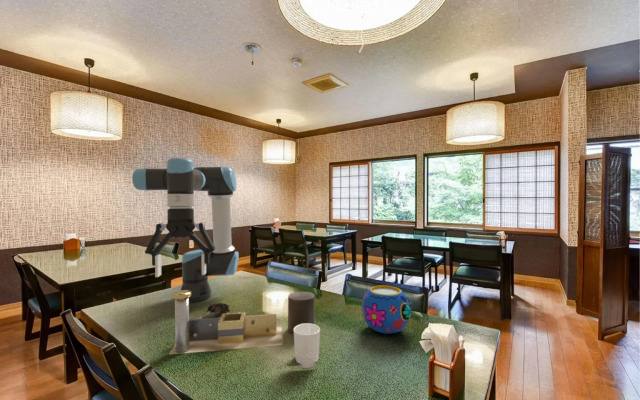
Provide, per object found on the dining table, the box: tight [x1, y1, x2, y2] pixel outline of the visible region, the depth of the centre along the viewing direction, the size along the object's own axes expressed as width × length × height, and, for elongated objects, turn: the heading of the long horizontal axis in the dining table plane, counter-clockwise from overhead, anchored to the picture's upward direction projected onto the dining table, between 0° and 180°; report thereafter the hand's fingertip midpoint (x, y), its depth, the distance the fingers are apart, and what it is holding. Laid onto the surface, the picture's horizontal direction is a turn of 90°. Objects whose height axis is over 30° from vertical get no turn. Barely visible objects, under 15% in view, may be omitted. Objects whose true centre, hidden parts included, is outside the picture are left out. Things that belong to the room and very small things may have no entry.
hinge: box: [189, 311, 277, 344], centre depth 100 cm, size 8×30×7 cm, turn 99°
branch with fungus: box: [191, 302, 231, 319], centre depth 117 cm, size 18×7×6 cm, turn 152°
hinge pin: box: [171, 290, 191, 354], centre depth 92 cm, size 5×5×18 cm
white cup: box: [293, 323, 321, 369], centre depth 87 cm, size 8×8×10 cm
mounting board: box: [167, 323, 284, 355], centre depth 100 cm, size 16×35×1 cm, turn 99°
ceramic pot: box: [361, 285, 412, 335], centre depth 107 cm, size 18×18×15 cm
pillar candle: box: [287, 291, 316, 336], centre depth 106 cm, size 10×10×15 cm
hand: (181, 275), depth 92 cm, fingers open, 13 cm apart
